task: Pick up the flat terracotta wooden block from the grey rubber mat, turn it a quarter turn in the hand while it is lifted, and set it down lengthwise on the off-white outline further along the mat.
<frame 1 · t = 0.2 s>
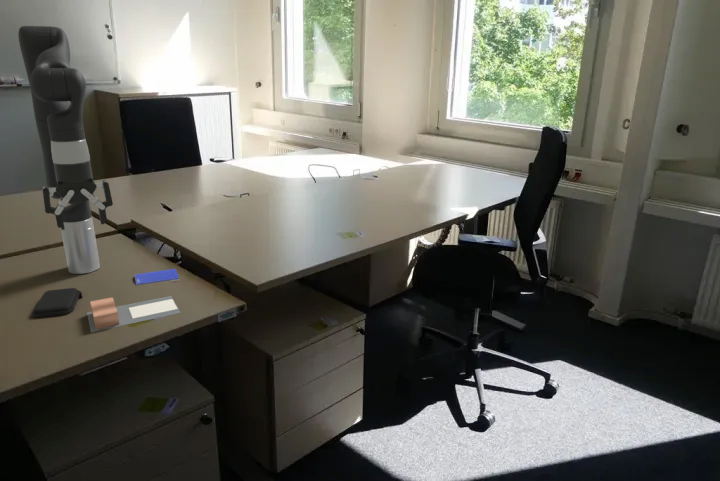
hand: (83, 226, 128), 28 cm above the table, tool pointing down, fingers open, 8 cm apart
hard drive: (157, 280, 167), on the table
mat: (134, 314, 144), on the table
block: (105, 318, 140), point 1 cm above the table, touching mat
carrying case or bag: (60, 308, 148), on the table
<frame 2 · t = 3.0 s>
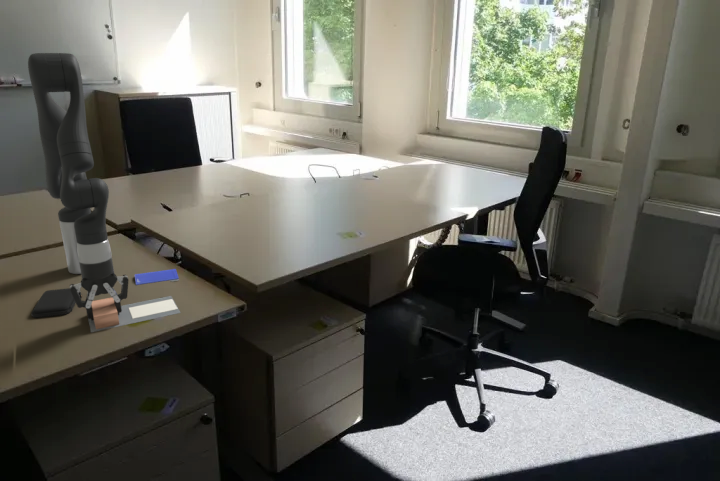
hand: (105, 316, 140), 1 cm above the table, tool pointing down, fingers closed on block, 5 cm apart
block: (105, 318, 140), point 1 cm above the table, touching gripper, mat
everything else where it was.
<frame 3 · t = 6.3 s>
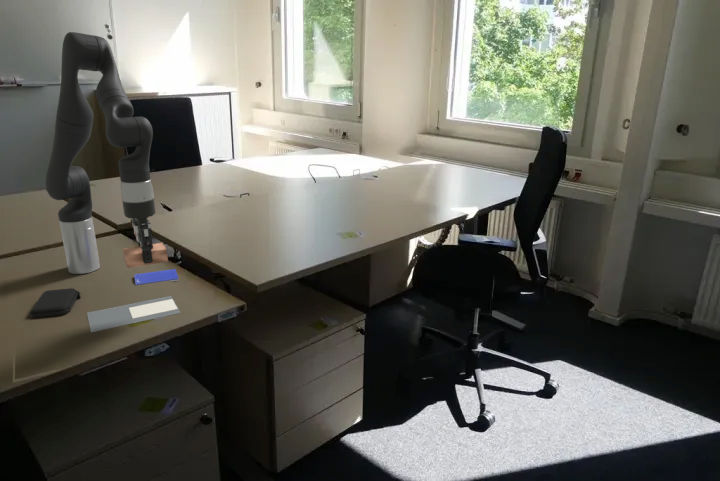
hand: (146, 258, 141), 15 cm above the table, tool pointing down, fingers closed on block, 5 cm apart
block: (146, 261, 141), point 15 cm above the table, touching gripper
everything else where it was.
when the fingers open (3 cm above the table, at t = 9.4 s): block drops 1 cm, resting on mat.
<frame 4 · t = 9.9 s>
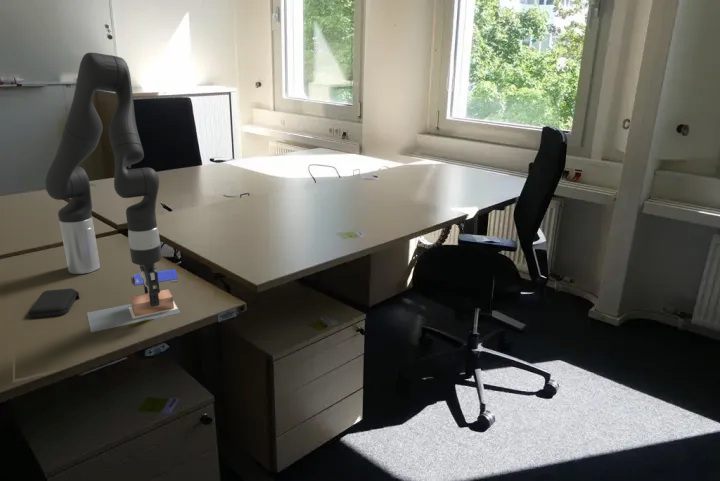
hand: (152, 299, 145), 3 cm above the table, tool pointing down, fingers open, 8 cm apart
block: (153, 308, 146), point 1 cm above the table, touching mat
everything else where it was.
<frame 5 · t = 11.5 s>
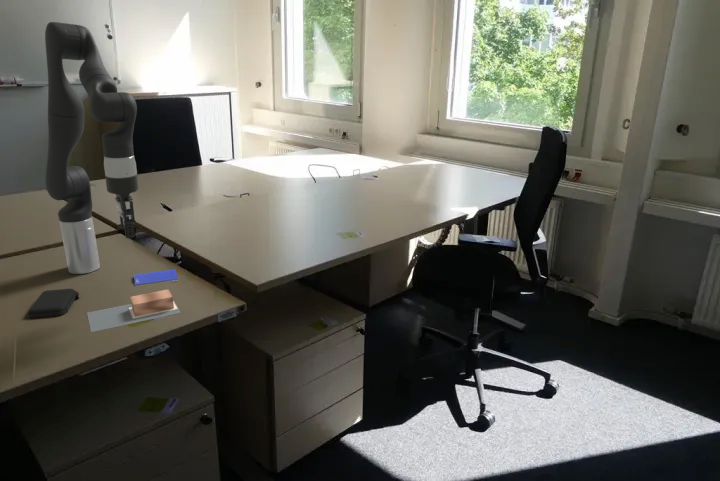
hand: (127, 232, 142), 22 cm above the table, tool pointing down, fingers open, 8 cm apart
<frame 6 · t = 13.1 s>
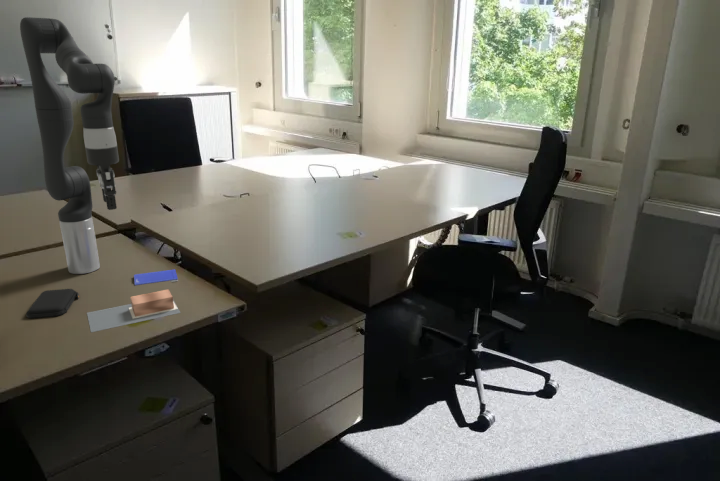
hand: (110, 205, 143), 28 cm above the table, tool pointing down, fingers open, 8 cm apart
at the end: block inside the target area (0.0 cm from its centre), point 0.7 cm above the table; block tilted 0°; the gripper is holding nothing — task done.
